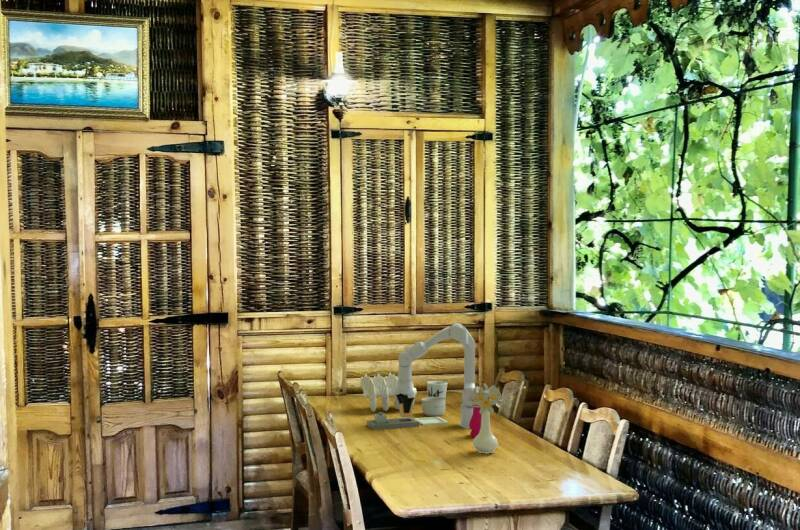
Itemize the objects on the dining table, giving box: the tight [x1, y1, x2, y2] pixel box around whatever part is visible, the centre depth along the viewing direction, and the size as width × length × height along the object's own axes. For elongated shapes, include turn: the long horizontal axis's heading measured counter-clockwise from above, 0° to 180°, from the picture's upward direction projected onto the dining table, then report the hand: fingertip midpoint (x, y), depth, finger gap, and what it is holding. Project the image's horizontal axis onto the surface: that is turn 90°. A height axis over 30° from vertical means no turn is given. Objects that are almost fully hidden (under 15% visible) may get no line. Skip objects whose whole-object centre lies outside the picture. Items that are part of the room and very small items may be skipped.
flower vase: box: [469, 382, 505, 455], centre depth 318 cm, size 13×18×25 cm
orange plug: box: [399, 404, 413, 418], centre depth 365 cm, size 4×4×6 cm
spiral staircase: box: [359, 372, 418, 413], centre depth 398 cm, size 18×18×25 cm
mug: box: [425, 380, 449, 399], centre depth 420 cm, size 10×15×10 cm
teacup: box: [421, 396, 446, 417], centre depth 388 cm, size 14×11×8 cm
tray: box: [413, 416, 449, 427], centre depth 371 cm, size 12×12×1 cm
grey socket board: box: [366, 417, 420, 431], centre depth 363 cm, size 10×20×2 cm, turn 109°
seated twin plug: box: [374, 411, 388, 424], centre depth 361 cm, size 4×4×6 cm
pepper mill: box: [469, 386, 482, 438], centre depth 345 cm, size 7×7×20 cm
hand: (405, 411), depth 365 cm, fingers closed on orange plug, 4 cm apart
